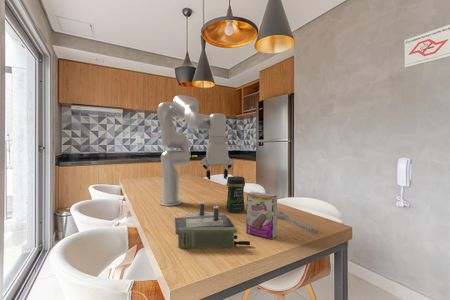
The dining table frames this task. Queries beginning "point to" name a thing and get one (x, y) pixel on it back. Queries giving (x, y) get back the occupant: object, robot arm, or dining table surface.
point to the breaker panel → (202, 221)
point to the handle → (216, 213)
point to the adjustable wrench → (296, 222)
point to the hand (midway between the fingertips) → (217, 178)
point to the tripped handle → (201, 208)
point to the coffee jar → (235, 194)
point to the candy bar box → (261, 214)
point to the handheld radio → (208, 237)
